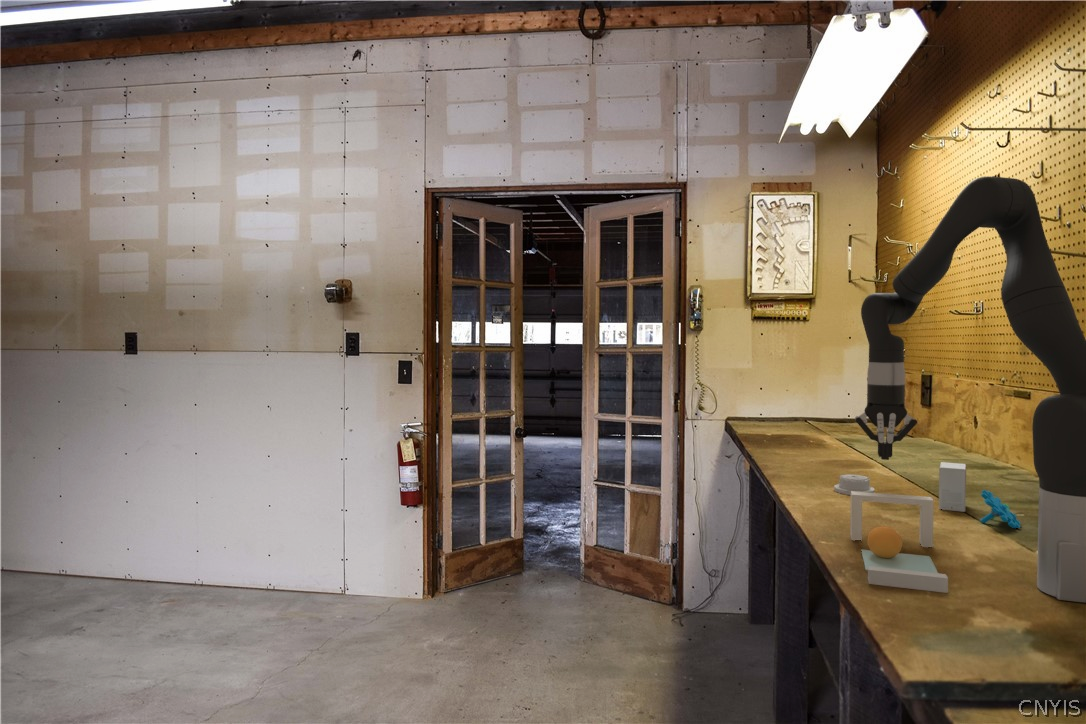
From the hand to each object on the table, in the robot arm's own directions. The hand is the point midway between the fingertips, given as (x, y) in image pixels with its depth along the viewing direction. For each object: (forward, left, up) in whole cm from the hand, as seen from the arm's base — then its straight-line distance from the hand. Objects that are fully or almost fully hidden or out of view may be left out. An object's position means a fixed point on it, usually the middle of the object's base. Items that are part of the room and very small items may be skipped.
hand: (885, 459), depth 151 cm
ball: (-24, +2, -12) cm, 27 cm away
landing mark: (-27, 0, -15) cm, 31 cm away
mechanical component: (+32, +4, -16) cm, 36 cm away
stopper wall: (-39, 0, -15) cm, 42 cm away
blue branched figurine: (+8, -24, -15) cm, 30 cm away
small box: (+22, -17, -15) cm, 32 cm away
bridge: (-13, 0, -15) cm, 20 cm away
